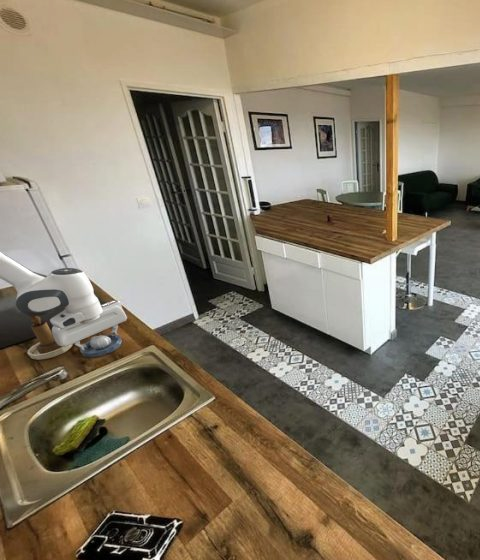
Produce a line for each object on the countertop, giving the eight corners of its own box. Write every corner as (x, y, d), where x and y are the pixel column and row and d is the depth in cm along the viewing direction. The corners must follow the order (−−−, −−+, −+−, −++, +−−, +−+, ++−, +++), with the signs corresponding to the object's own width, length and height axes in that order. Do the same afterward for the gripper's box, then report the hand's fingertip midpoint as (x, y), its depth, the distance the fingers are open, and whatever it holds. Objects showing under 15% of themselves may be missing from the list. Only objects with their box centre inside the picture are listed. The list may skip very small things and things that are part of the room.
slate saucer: (92, 361, 111) (89, 357, 110) (76, 352, 115) (73, 347, 114) (128, 344, 120) (126, 339, 119) (112, 335, 124) (110, 331, 123)
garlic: (89, 353, 114) (83, 341, 112) (95, 344, 119) (90, 333, 116) (109, 349, 116) (104, 338, 114) (114, 341, 121) (109, 330, 118)
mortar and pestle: (64, 341, 120) (42, 301, 112) (64, 349, 116) (42, 307, 108) (39, 348, 116) (15, 307, 108) (39, 357, 112) (14, 314, 104)
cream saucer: (38, 364, 109) (35, 359, 108) (24, 354, 113) (21, 349, 112) (80, 345, 118) (77, 341, 117) (65, 337, 123) (62, 332, 122)
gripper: (114, 296, 120) (126, 326, 126) (43, 322, 103) (61, 355, 109) (123, 300, 118) (135, 330, 124) (52, 327, 101) (70, 360, 107)
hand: (100, 342), depth 116 cm, fingers open, 8 cm apart
